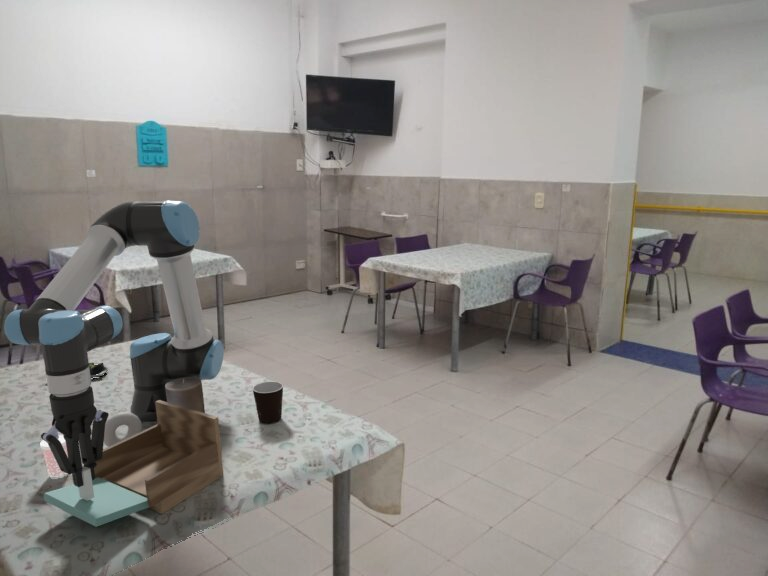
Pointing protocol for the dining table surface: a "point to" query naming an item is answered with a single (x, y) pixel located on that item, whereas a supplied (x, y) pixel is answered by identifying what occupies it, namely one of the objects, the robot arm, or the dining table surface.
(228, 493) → the dining table surface
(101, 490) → the panel
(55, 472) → the beverage cup
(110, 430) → the donut
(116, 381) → the dining table surface
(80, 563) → the dining table surface
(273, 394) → the coffee mug
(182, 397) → the pillar candle
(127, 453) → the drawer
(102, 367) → the salad plate
